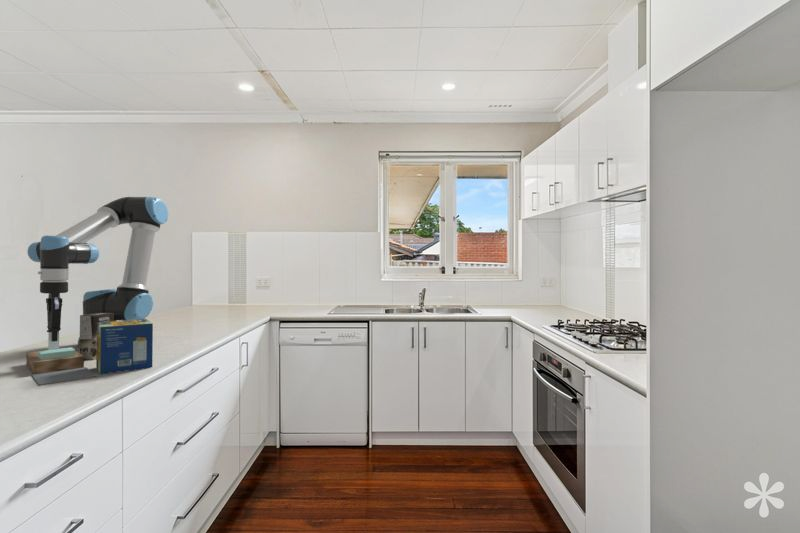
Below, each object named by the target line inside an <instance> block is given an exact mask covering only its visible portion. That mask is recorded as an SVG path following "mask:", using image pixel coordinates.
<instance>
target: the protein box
mask: <svg viewBox="0 0 800 533" xmlns="http://www.w3.org/2000/svg"><path fill="white" fill-rule="evenodd" d="M96 324H97V349H96V359H95V361H96V365H95V366H96V369H97V372H98V373H99V375H104V374H103V373H106V374H110V373H109V372H113V373H118V372H117V371H121V372H126V371H125V370H129V371H135V370H134V369H137V370H143V369H142V368H144V369H151V368H150V367H152V368H153V351H154V350H153V345H154V344H153V343H154V342H153V338H154V336H153V335H154V334H153V332H154V329H153V328H154V325H153V322H151V321H149V320H148V319H147V318H145V319H142V320H128V321H119V320H116V321H114V322H99V323H96Z"/></svg>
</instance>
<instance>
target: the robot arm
mask: <svg viewBox="0 0 800 533" xmlns="http://www.w3.org/2000/svg"><path fill="white" fill-rule="evenodd" d="M168 219H169V210H168V207H167V205H166V203H165V202H164V200H163V199H161V198H160V197H156V196H155V197H153V196H124V197H121V198H117V199H115V200H111V201H109V202H108V203H106V204H104V205H102V206H101V207H99V208H98V209H97V211H96V213H94V214H91V215H90V216H88V217H86V218H85V219H83V220H81V221H79V222H77V223H75V224H74V225H72V226H70V227H69V228H67V229H64V231H62V232H60V233H58V234H56V235H42V237H41V238H40V241H36V242H32V243H31V244H29V246H28V248H27V256H28V257H29V259H30V260H31V261H33V262H35V263H40V265H39V269H40V271H38V272H37V274H38V275H39V278H40V279H39V280H40V281H41V282H39V293H41V294H48V297H47V298H46V299H45V303H46V312H47V313H46V314H47V317H46V318H47V326H46V327H47V330H46V333H48V336H47V337H48V338H47V339H48V340H47V342H48V344H47V346H48V348H47V350H52V349H60V331H61V330H62V329H61V320H62V306H63V298H62V297H61V295H60V294H66V293H68V292H69V282H68V281H69V273H70V272H69V264H73V265H74V264H80V265H82V264H85V265H87V264H93V263H95V262H97V260H98V259H99V258H100V250H99V248H98V247H97V245H95V243H89V242H88V241H91V240H92V239H94V238H95V237H97V236H99V235H100V234H102V233H103V232H105V231H107V230H108V229H110V228H112V229H113V228H116V227H118V226H119V225H123V224H124V225H125V224H126V225H127V224H128V226H130V227H129V228H131V233H130V240H129V244H128V250H127V256H126V261H125V266H124V272H123V276H122V283H121V284H119V285H118V286H117V287H116V288H109V289H100V290H91V291H90V290H89V291H86V292H84V294H83V295H82V296H83V299H82V315H86V314H94V313H114V321H128V320H142V319H147V317H149V316H150V314H151V312H152V311H153V308H154V301H153V296H151V295H150V294H149V292H150V290H149V289H148V288H147V287H146V285H147V279H148V275H149V269H150V262H151V258H152V253H153V252H152V251H153V246H154V239H155V234H156V233H157V232H159V231H160V229H161V225H163V224H165V223H166V222H168ZM79 344H80V336H79V337H78V340H77V347H78V348H79V346H80V345H79Z"/></svg>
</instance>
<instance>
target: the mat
mask: <svg viewBox="0 0 800 533" xmlns="http://www.w3.org/2000/svg"><path fill="white" fill-rule="evenodd" d="M31 376H32V378H33V379H34V381H35V382H36V383H37V385H38V386H43V385H44V386H45V385H50V384H51V383H52V384H57V383H58V384H59V383H64V381H65V382H71V381H76V379H77V380H84V379H88V378H89V379H90V378H95V376H96V377H97V375H96V374H95V373H93V372H92V371H91V369H89V368H88V367H85V366H84V367H83V368H76V369H69V370H62V371H55V372H48V373H41V374H31ZM83 378H84V379H83ZM70 380H71V381H70ZM52 384H51V385H52Z"/></svg>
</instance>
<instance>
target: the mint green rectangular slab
mask: <svg viewBox="0 0 800 533" xmlns="http://www.w3.org/2000/svg"><path fill="white" fill-rule="evenodd" d="M73 348H74V347H63V348H62V347H61V348H59V349H52V350H48V349H44V350H38V351H37V352H38V357H39V358H40V360H47V359H55V358H63V357H71V356H75V350H76V349H75V348H74V349H75V350H74V349H73Z"/></svg>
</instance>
